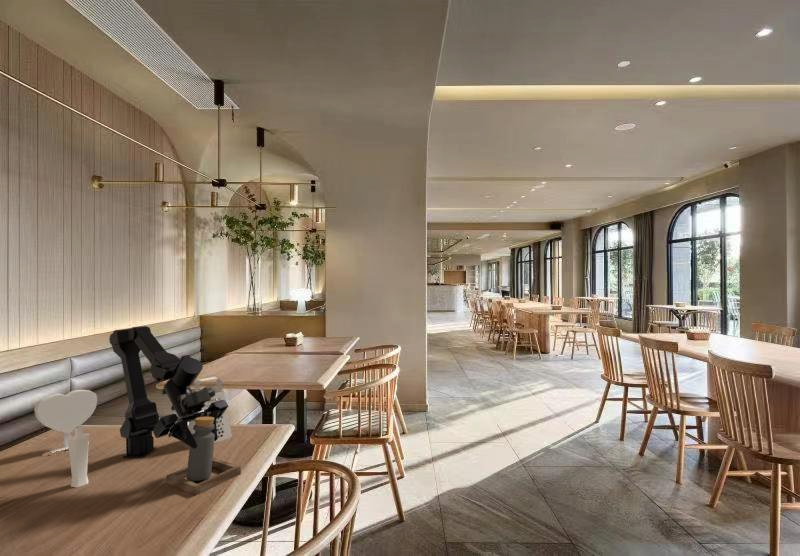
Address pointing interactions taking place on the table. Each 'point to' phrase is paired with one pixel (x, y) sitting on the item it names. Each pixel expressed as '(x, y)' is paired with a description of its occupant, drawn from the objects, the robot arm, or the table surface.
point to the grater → (219, 395)
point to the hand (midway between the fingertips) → (206, 443)
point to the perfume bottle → (79, 457)
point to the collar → (191, 487)
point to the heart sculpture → (65, 411)
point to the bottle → (201, 450)
